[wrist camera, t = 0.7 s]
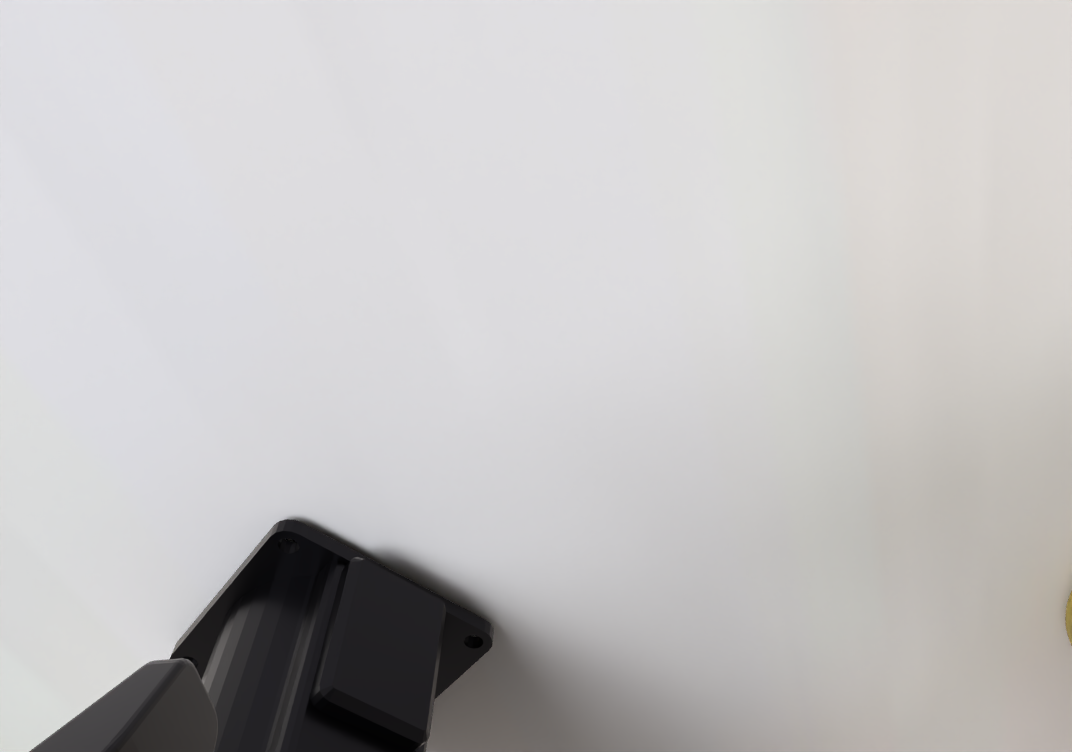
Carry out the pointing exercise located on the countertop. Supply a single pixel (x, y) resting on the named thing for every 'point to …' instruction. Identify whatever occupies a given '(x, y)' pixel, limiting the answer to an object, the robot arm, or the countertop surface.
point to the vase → (1069, 618)
